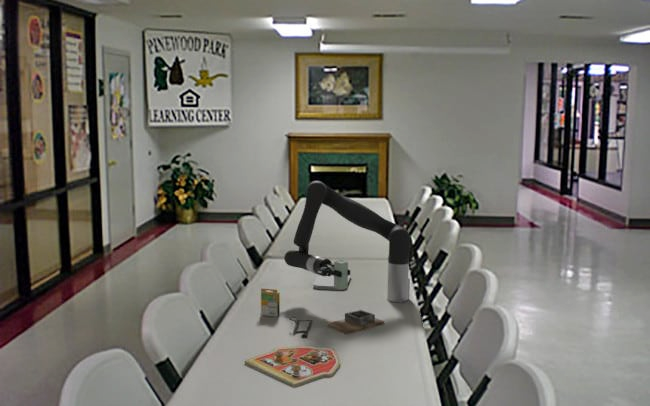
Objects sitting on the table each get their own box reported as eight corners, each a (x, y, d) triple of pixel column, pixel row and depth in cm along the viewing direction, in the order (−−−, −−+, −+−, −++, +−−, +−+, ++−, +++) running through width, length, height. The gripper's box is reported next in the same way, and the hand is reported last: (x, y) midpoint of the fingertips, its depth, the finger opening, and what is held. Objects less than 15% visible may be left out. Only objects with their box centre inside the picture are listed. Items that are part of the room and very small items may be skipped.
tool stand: (364, 316, 276) (364, 306, 276) (384, 323, 267) (384, 313, 267) (327, 325, 264) (327, 316, 263) (347, 334, 255) (347, 324, 254)
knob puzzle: (241, 364, 226) (241, 351, 226) (304, 342, 247) (305, 331, 246) (298, 390, 206) (298, 376, 205) (363, 365, 226) (363, 352, 225)
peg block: (341, 285, 277) (341, 260, 275) (347, 287, 274) (347, 262, 272) (334, 287, 274) (334, 261, 273) (340, 289, 271) (340, 263, 270)
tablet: (351, 277, 339) (351, 273, 339) (345, 291, 314) (345, 286, 313) (320, 276, 341) (320, 271, 341) (311, 289, 316) (311, 285, 316)
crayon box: (279, 314, 277) (279, 288, 275) (277, 317, 274) (277, 289, 272) (263, 313, 279) (263, 286, 277) (260, 315, 276) (260, 288, 274)
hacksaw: (306, 339, 250) (306, 335, 249) (279, 338, 251) (279, 334, 250) (314, 318, 273) (314, 315, 273) (289, 317, 274) (289, 314, 274)
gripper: (306, 259, 279) (332, 267, 266) (332, 254, 288) (358, 262, 275) (306, 276, 280) (332, 285, 267) (331, 271, 289) (358, 279, 276)
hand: (345, 273), depth 271 cm, fingers closed on peg block, 4 cm apart
